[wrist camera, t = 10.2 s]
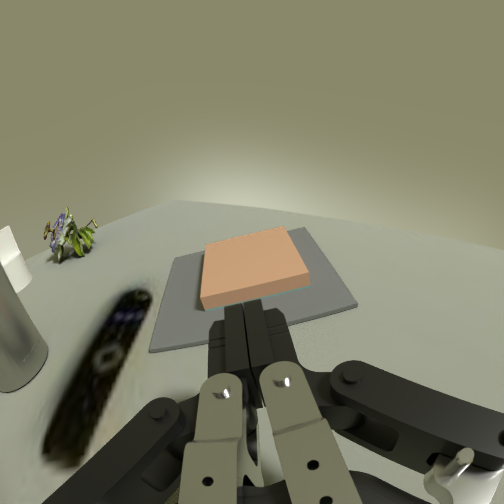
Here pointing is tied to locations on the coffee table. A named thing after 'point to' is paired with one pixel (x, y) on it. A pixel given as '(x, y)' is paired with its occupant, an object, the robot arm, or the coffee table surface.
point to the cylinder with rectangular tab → (13, 260)
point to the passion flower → (68, 235)
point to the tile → (251, 269)
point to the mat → (199, 322)
